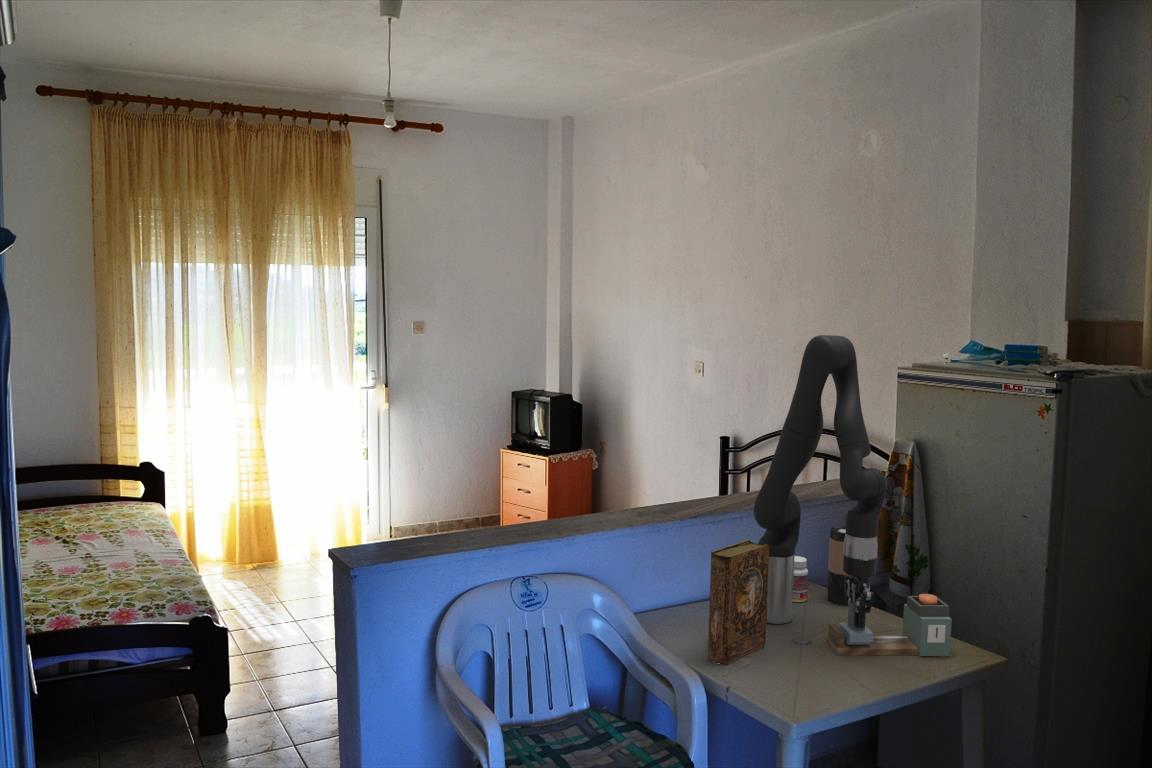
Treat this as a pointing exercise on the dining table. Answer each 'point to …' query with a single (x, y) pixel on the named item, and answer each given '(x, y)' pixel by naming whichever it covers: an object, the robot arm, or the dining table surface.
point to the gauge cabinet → (927, 627)
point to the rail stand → (870, 645)
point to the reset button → (927, 599)
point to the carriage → (855, 629)
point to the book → (738, 601)
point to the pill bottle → (800, 579)
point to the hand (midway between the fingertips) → (856, 624)
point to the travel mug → (836, 567)
